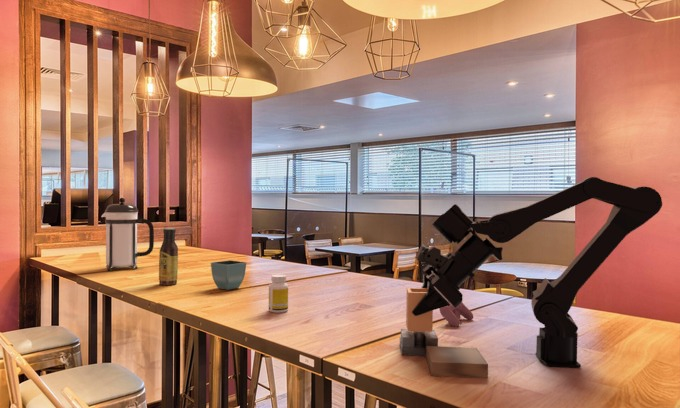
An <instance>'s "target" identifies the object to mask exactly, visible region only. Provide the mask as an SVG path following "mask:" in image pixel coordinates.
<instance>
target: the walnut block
mask: <svg viewBox="0 0 680 408" xmlns="http://www.w3.org/2000/svg"><path fill="white" fill-rule="evenodd" d="M425 359H426V363H427V365H428V368H429V369H428V370H429V371H430V375H431V376H433V377H452V378H453V377H454V378H455V377H456V378H478V379H479V378H480V379H481V378H482V379H489V376H488V375H489V364H488V362H487V361H486V359H485V357H484V356H483V354H482V353H481V352H480V350H479V348H478V347H464V346H439V345H438V346H426V356H425Z"/></svg>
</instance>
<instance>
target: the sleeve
mask: <svg viewBox="0 0 680 408" xmlns="http://www.w3.org/2000/svg"><path fill="white" fill-rule="evenodd" d="M426 293H427V288H421V287H406V309H405V311H406V315H405V316H406V318H405V321H406V322H405V325H406V329H408V331H419V332H432V330H433V326H434V325H433V324H434V321H433V319H434V318H433V317H434V315H433V313H434V310H432V311H429V312H426V313H423V314H420V315H417V316H415V315H414V314H413V313H412V311H413V310H414V308H415V307H416V306H417V304H418V303H419V302H420V300H421V299H422V298H423V297H424V295H425V294H426Z"/></svg>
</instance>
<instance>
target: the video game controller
mask: <svg viewBox="0 0 680 408" xmlns="http://www.w3.org/2000/svg"><path fill="white" fill-rule="evenodd" d="M448 302H449V301H448ZM449 303H450V302H449ZM450 304H451V303H450ZM438 309H439V313H440V315H441V316H442V317H443V318H444V319H445V320H446V322H448V323H449V324H450V325H452V327H455V328H458V327H459V326H460V325H461V324H460V323H461V322H460V320H461V316H462V317H463V318H464V319H466V320H468V321H472V320H473V319H474V314H473V312H472V311H471V310H470V309H469V308H468V307H467V306H466V305H465V304H464V303H463V301H462V302H461V303H460V304H459V305H458V306H457V307H456V308H455V307H454V306H453V305H452V304H451V305H450V306H445V307H442V308H438Z"/></svg>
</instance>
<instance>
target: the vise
mask: <svg viewBox="0 0 680 408" xmlns="http://www.w3.org/2000/svg"><path fill="white" fill-rule="evenodd" d="M426 346H439V337H438V335H437V333H436V331H435V329H432V332H419V331H408V329H407V328H400V337H399V348H400V353H401V356H419V357H420V356H423V357H424V356H425V357H426Z"/></svg>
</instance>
